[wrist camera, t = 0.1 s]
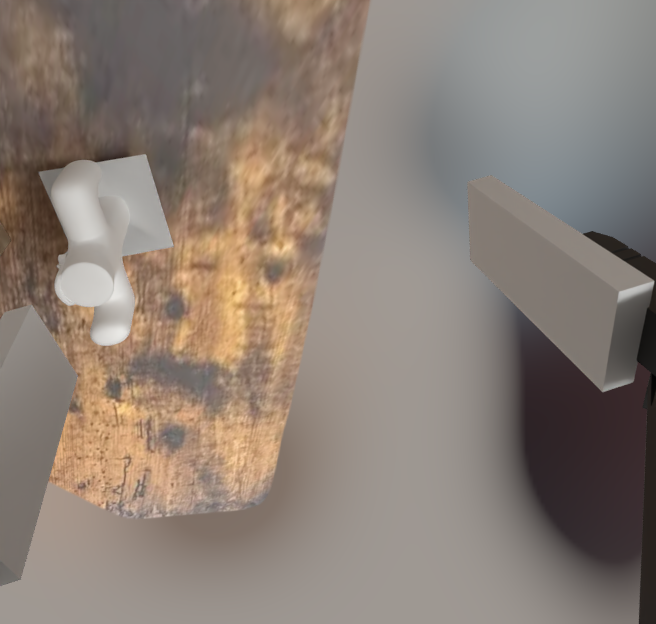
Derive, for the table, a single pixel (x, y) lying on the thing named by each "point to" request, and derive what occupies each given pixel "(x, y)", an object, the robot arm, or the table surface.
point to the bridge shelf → (3, 239)
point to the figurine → (105, 236)
